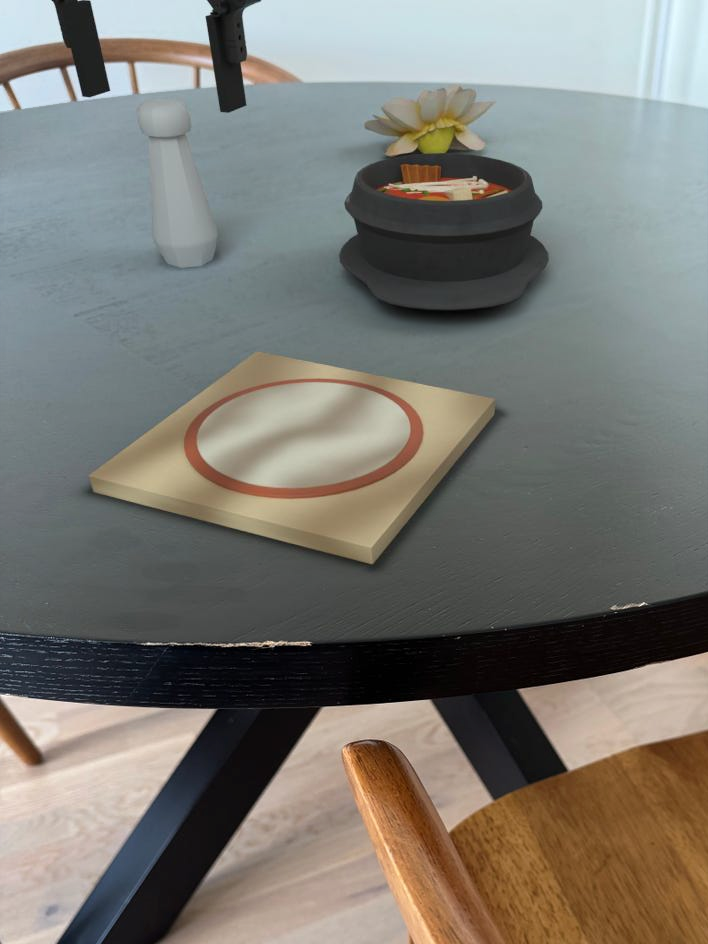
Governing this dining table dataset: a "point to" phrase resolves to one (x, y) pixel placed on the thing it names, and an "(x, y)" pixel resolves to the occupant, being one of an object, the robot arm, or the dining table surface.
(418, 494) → the board
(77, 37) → the robot arm
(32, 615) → the dining table surface
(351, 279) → the dining table surface
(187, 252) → the salt shaker
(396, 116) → the decorative flower
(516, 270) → the casserole
